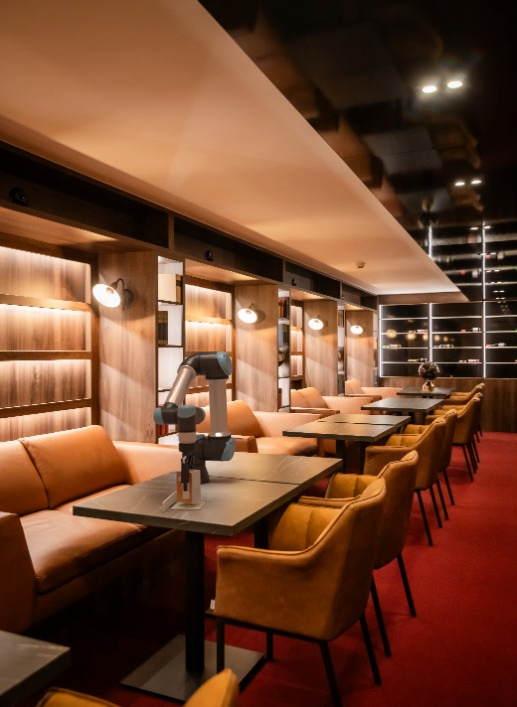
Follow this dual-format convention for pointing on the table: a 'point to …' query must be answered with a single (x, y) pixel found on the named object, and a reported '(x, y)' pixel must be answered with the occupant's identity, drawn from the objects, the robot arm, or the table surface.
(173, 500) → the fence
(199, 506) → the mat
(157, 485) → the table surface
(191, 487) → the small box
